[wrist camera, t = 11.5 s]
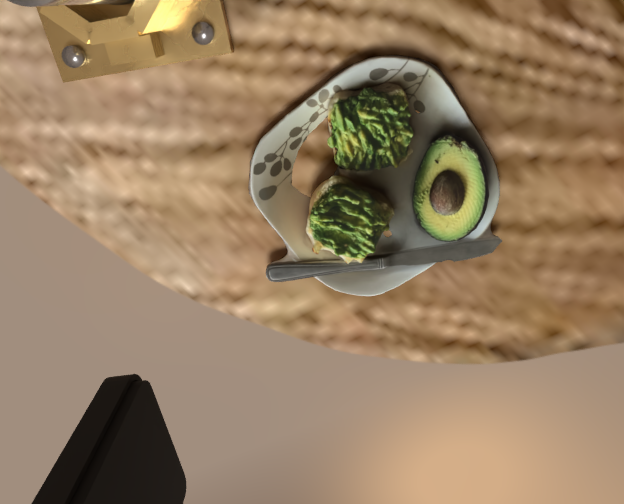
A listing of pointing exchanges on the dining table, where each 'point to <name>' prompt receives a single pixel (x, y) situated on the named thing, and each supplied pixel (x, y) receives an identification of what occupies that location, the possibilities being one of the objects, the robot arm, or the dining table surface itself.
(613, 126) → the dining table surface
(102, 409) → the robot arm
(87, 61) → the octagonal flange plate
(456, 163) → the avocado toast plate
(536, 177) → the dining table surface
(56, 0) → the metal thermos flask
